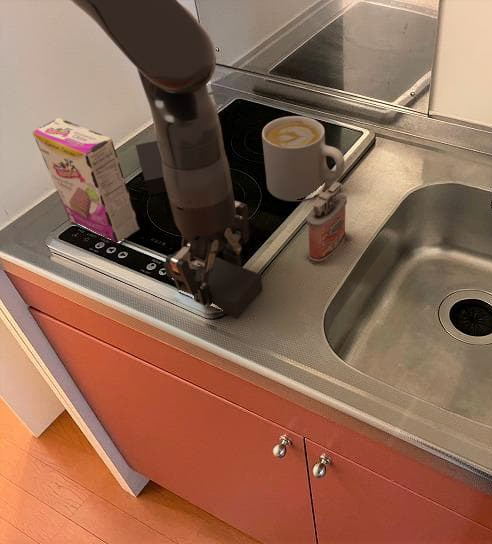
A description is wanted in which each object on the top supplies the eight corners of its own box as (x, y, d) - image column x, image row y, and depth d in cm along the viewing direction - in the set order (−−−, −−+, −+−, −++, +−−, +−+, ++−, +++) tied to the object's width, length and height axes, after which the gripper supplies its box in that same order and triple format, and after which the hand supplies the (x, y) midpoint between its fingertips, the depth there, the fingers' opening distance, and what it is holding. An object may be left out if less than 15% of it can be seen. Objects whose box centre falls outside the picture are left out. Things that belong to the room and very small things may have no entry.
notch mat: (148, 195, 96) (144, 180, 93) (139, 159, 104) (135, 144, 102) (219, 180, 98) (216, 165, 96) (204, 146, 107) (201, 131, 105)
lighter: (322, 267, 82) (321, 212, 75) (303, 259, 83) (300, 204, 76) (351, 236, 87) (352, 182, 80) (332, 229, 88) (332, 175, 81)
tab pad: (237, 318, 75) (234, 303, 73) (160, 285, 80) (156, 269, 78) (262, 290, 79) (260, 274, 77) (187, 259, 84) (184, 244, 82)
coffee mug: (255, 189, 96) (249, 136, 89) (289, 161, 102) (285, 110, 95) (322, 215, 91) (321, 161, 84) (353, 184, 97) (355, 131, 90)
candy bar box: (68, 223, 90) (29, 131, 79) (92, 207, 93) (58, 115, 82) (118, 247, 86) (84, 153, 75) (141, 229, 89) (113, 136, 78)
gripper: (211, 149, 73) (228, 248, 84) (132, 210, 64) (164, 312, 75) (260, 164, 70) (271, 265, 81) (185, 230, 61) (209, 333, 72)
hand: (219, 287), depth 78 cm, fingers closed on tab pad, 6 cm apart
